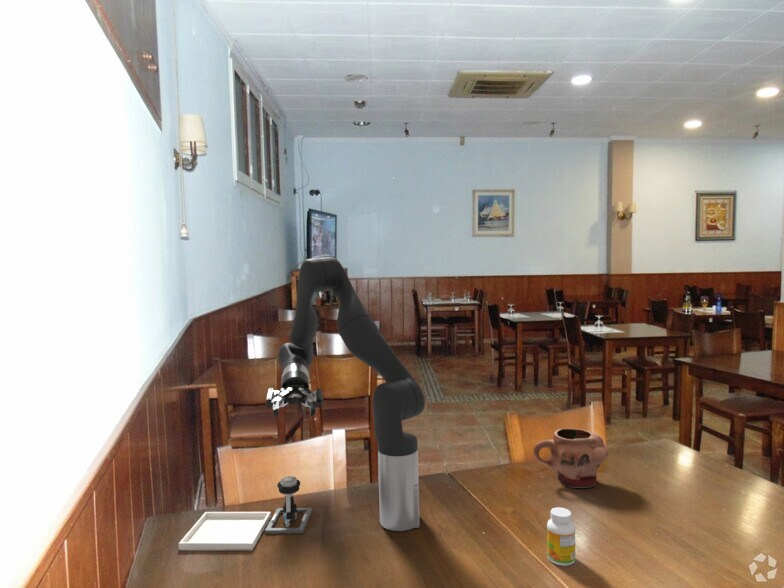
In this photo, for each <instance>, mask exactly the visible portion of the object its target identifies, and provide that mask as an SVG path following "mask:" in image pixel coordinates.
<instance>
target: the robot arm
mask: <svg viewBox="0 0 784 588" xmlns="http://www.w3.org/2000/svg"><path fill="white" fill-rule="evenodd" d="M327 291H331V292H332V293H333V294H334V296H335V297H336V299H337V302H338V311H337V312H338V313H337V317H336V318H337V319H336V328H337V332H338V334H339V336H340V338H341V340H342V341H343V343H344V345H345V346H346V348H347V350H348V351H349V352H350V354H352V355H353V356H354V357H355V358H357V359H358V360H359V361H361V362H363V363H364V364H366V365H367V366H368V367H370V368H371V369H373V370H374V371H375V372H376V373H378V374H379V375H380V377H382V379H383V380H384V382H382V383H379V384H378V385H377V386H376V387H375V389H374V391H373V395H372V413H373V415H372V417H373V428H374V436H375V440H376V442H377V457H378V459H377V462H378V463H377V465H378V468H377V469H378V497H379V501H378V502H379V524H380V526H381V527H382V528H385V529H386V530H389V531H393V532H405V531H410V530H413V529H416V528H417V529H418V528H420V497H419V496H420V493H419V489H420V487H419V458H418V457H419V456H418V454H419V453H418V452H419V451H418V444H419V443H418V438H417V436H416V435H415V434H413V433H411V432H408V431H404V429H403V424H402V421H405V420H408V419H411V418H415V417H418V416H419V415H421V414H422V412H423V411H424V410H425V403H426V402H425V396H424V392H423V390H422V389H421V387H420V385H419V383H418V381H417V380H416V379H415V378H414V375H412V374H411V372H410V371H409V370H408V369H407V368H406V366H405V365H404V363H402V362H401V360H400V359H399V357H398V356H397V355H396V354H395V352H394V350H393V348H391V346H390V344H389V343H388V342H387V340H386V339H385V337H384V335H383V334H382V332H381V331H380V329H379V326H377V324H376V322H375V321H374V319H373V317H372V316H371V315H370V313H369V312H368V310H367V309H366V308H365V306H364V304H363V303H362V300H361V299H360V297H359V295H358V294H357V293H356V291H355V289H354V286H353V285H352V282H351V281H350V278H349V276H348V275H347V273H346V271H345V269H344V266H343V265H342V264H341V262H340V261H339V260H338V259H337V258H335V257H332V256H327V257H326V256H324V257H314V258H307V259H305V260H303V262H301V266H300V268H299V273H298V281H297V292H296V304H295V305H296V306H295V313H294V319H293V322H292V325H291V329H290V333H289V341H290V342H285V343H283V344H282V345H281V346H280V347H279V349H278V354H277V357H278V362H279V365H280V367H281V369H282V371H283V372H282V375H281V383H280V384H281V385H280V389H279V390H274V388H273V387H270V388H268V391H267V395H266V398H265V399H266V401H265V403H266V405H265V408H266V409H271V408H272V415H274V416H275V417H276V418H277V417H279V412H280V411H279V410H280V408H284V407H285V406H287V405H294V404H296V405H301V404H302V406H304V407H306V408H307V407H308V408H309V415H310V416H309V417H314V415H316V414H317V408H318V409H323V403H324V396H323V391H322V388H320V387H319V388H316V390H313V391H312V390H311V389H310V374H309V367H310V366H311V365H312V364H313V361H314V351H313V350H314V347H313V343H314V338H315V335H316V333H317V328H318V322H319V321H318V315H317V313H316V311H315V309H314V306H313V304H312V298H313V296H314V294H315V293H321V292H327Z"/></svg>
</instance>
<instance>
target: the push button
mask: <svg viewBox="0 0 784 588" xmlns="http://www.w3.org/2000/svg"><path fill="white" fill-rule="evenodd" d="M276 486H277V489H278V492H279V493H280V494H282V495H284V496H285V497H284V499H285V500H284V504H283V505H282V508H283V511H284V513H283V515H282V521H283V522H284V526H285V527H284V528H290V526H292V525H293V524H292V522H293V523H294V521H295V520H296V519H297V518H298V513H297V508H298V506H297V504H296V503H295V499H294V494H296V493H297V492H299V490H300V486H301V481H300V480H299V479H297V477H295V476H291V475H290V476H285V477H283V478H281V480H280V481H279V482H278V483H277V485H276ZM294 517H295V518H294Z"/></svg>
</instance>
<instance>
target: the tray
mask: <svg viewBox="0 0 784 588" xmlns="http://www.w3.org/2000/svg"><path fill="white" fill-rule="evenodd" d="M270 518H271V519H272V512H271V511H205V512H204V513H203V514H202V515H201V517H200V518H198V520H197V521H196V522H195V523H194V525H193V526H192V527H191V529H190V530H188V532H186V534H185V535H184V536H183V537H182V539H181V540H180V541H179V542H178V551H254V549H253V548H255V546H257V544H258V542H257V541H259V540H260V538H261V537H262V535H261V534H263V533H262V532H265V529H266V528H265V527H267V526H268V524H269V522H270V521H269V520H271V519H270ZM266 525H267V526H266ZM258 539H259V540H258Z"/></svg>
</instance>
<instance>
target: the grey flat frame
mask: <svg viewBox="0 0 784 588" xmlns="http://www.w3.org/2000/svg"><path fill="white" fill-rule="evenodd" d="M311 511H312V512H313V508H312V507H297V512H306V513H303V517H302V519H301V523H300V526H299V527H274V526H275V524H276V523H275V522H277V521H278V519H279V517H280V515H281V513H280V512H284V511H283V507H277V508H276V510H275V512H274V514H273V515H272V516H271V519H270V521H269V522H268V524H267V526H266V528H265V529H264V534H265V535H269V534H271V535H275V534H276V533H277V535H279V534H278V533H303V534H304V532H305V529H306V527H307V525H308V522H309V520H308V519H310V517H311V515H312V513H311ZM279 514H280V515H279ZM310 514H311V515H310ZM278 516H279V517H278ZM309 516H310V517H309ZM277 518H278V519H277ZM276 520H277V521H276ZM307 521H308V522H307ZM306 524H307V525H306ZM305 526H306V527H305ZM303 531H304V532H303ZM266 533H267V534H266ZM268 533H269V534H268Z"/></svg>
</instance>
